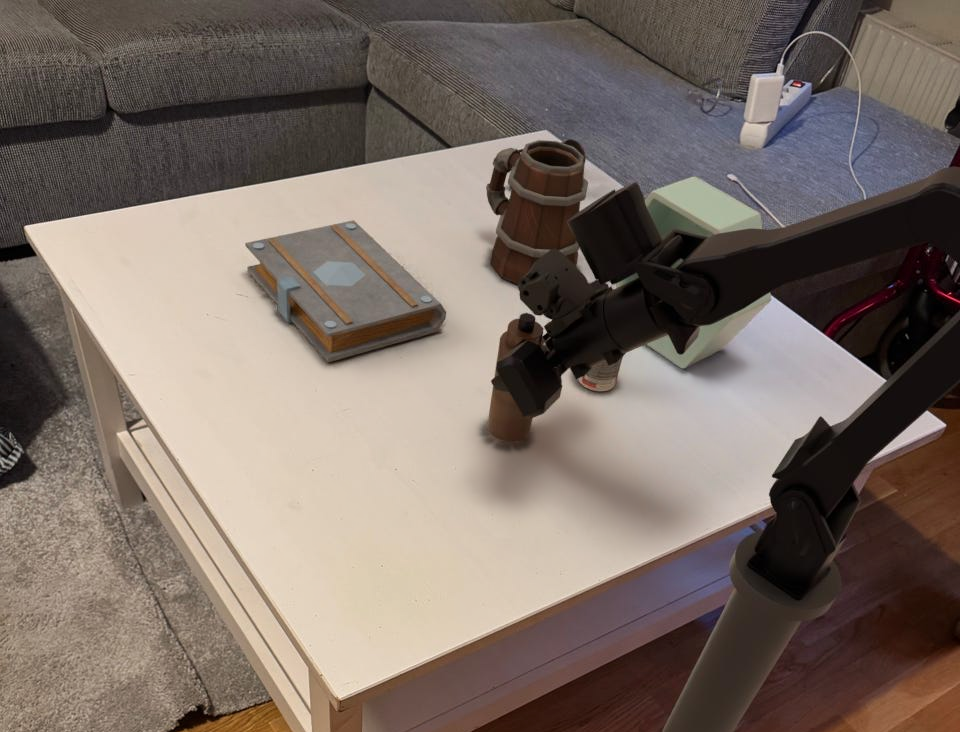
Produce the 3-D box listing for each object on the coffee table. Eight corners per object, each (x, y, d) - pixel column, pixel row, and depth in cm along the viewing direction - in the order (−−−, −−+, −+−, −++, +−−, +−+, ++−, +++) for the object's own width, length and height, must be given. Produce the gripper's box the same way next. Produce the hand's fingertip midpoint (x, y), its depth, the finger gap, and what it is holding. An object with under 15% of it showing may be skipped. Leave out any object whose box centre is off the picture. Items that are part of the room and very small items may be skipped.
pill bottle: (622, 388, 110) (640, 327, 103) (589, 395, 108) (605, 333, 102) (602, 365, 112) (618, 304, 106) (569, 372, 111) (583, 310, 104)
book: (444, 332, 113) (447, 295, 109) (325, 366, 106) (324, 328, 102) (359, 249, 122) (359, 212, 118) (244, 274, 115) (241, 236, 111)
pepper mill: (537, 437, 101) (560, 326, 90) (499, 446, 99) (517, 334, 89) (517, 411, 103) (537, 300, 93) (479, 419, 102) (495, 308, 91)
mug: (592, 273, 126) (618, 161, 114) (533, 300, 120) (553, 185, 108) (512, 223, 132) (528, 112, 120) (451, 246, 126) (462, 132, 114)
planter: (632, 371, 120) (598, 204, 111) (670, 352, 124) (640, 189, 115) (739, 366, 107) (711, 176, 98) (778, 345, 111) (754, 160, 102)
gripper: (626, 203, 88) (512, 268, 99) (530, 281, 77) (414, 344, 88) (677, 308, 92) (562, 359, 103) (592, 396, 81) (474, 442, 92)
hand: (506, 373), depth 97 cm, fingers closed on pepper mill, 5 cm apart
